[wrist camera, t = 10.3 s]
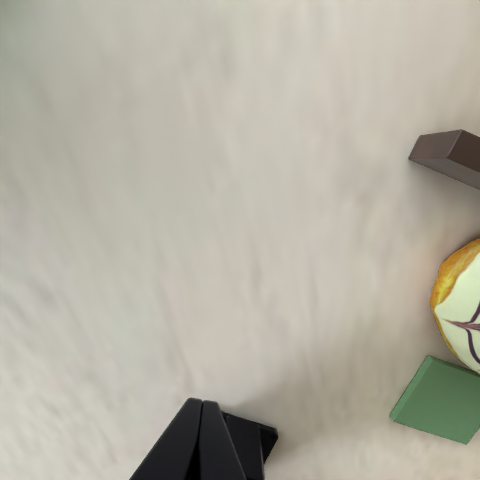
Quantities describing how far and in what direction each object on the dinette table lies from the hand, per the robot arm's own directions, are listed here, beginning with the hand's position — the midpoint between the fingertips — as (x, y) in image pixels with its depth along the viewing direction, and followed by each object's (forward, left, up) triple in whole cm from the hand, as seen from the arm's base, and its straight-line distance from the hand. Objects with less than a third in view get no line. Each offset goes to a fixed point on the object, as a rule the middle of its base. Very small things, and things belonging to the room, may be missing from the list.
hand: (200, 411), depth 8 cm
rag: (-4, -20, -12) cm, 24 cm away
